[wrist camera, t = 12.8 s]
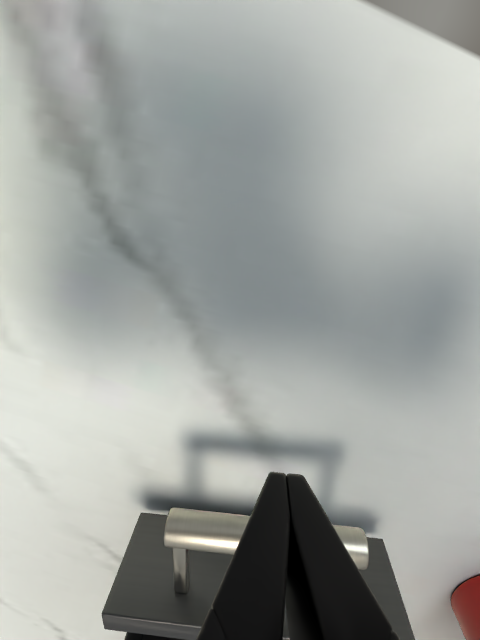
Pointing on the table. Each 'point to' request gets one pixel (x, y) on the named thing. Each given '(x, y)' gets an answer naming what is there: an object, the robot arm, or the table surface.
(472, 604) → the red can
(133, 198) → the table surface
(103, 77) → the table surface
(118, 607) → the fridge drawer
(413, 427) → the table surface
